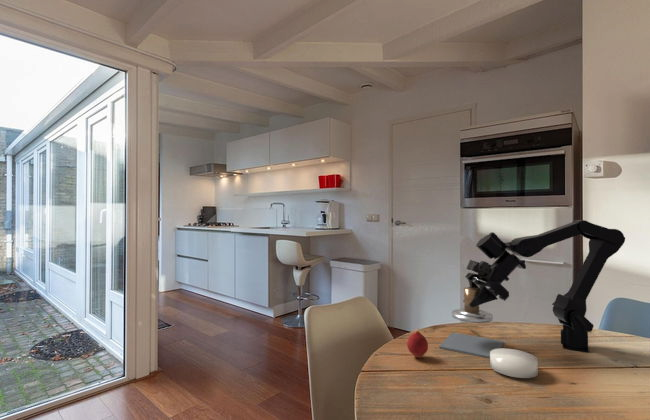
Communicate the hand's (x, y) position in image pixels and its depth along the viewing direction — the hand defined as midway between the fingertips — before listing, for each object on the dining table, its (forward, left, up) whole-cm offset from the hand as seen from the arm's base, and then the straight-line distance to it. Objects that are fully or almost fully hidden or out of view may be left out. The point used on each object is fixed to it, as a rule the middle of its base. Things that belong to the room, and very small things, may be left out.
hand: (467, 304), depth 110 cm
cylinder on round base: (-1, -1, -4) cm, 4 cm away
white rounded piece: (-14, +13, -13) cm, 23 cm away
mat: (-1, -1, -13) cm, 13 cm away
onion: (+10, +18, -13) cm, 25 cm away
